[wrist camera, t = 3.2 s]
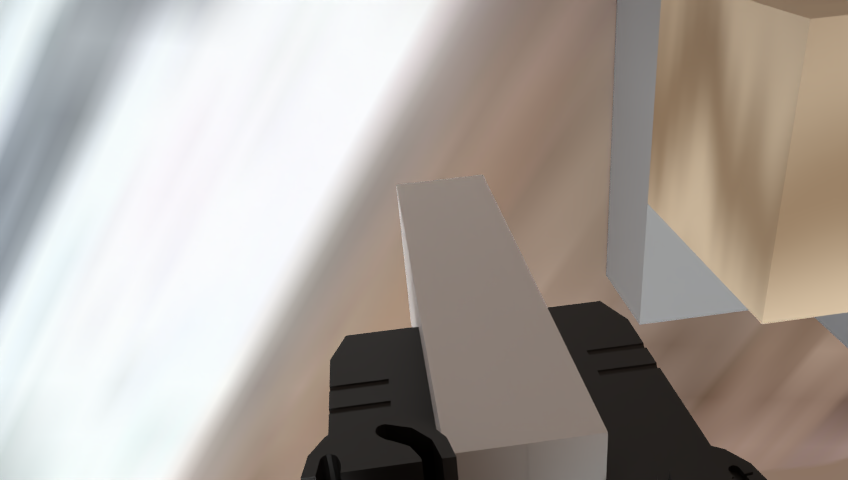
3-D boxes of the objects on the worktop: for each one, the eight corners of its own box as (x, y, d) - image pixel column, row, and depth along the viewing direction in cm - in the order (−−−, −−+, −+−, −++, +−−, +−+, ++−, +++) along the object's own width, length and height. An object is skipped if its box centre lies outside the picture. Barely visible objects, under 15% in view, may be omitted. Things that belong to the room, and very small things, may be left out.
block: (662, -27, 17) (810, 18, 12) (903, -52, 18) (1150, -18, 12) (647, 203, 20) (761, 323, 15) (855, 177, 20) (1041, 285, 15)
